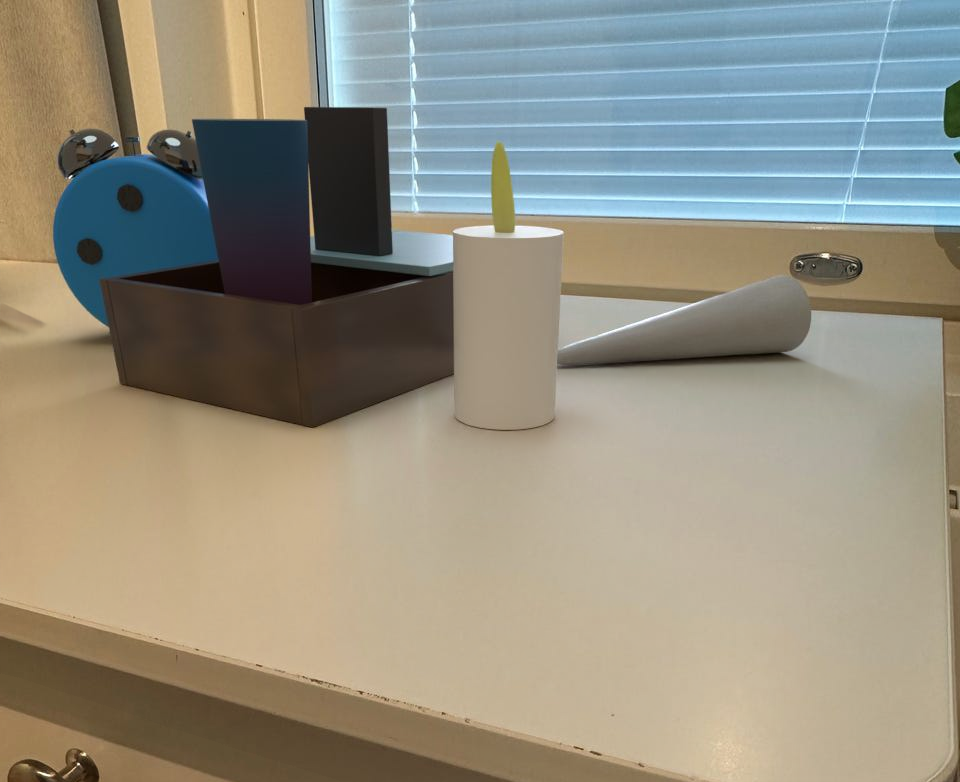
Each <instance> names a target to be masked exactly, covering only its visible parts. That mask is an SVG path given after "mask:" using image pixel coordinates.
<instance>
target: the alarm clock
mask: <svg viewBox="0 0 960 782" xmlns="http://www.w3.org/2000/svg"><path fill="white" fill-rule="evenodd" d="M68 132H69V134H70V135H69V136H68V137H67V138H66V139H64V140H63V142H62V143H61V145H60V147H59V149H58V152H57V158H56V159H57V167H58V171H59V173H60V174H61V176H62V178H63V179H64V181H68V180H71V181H70V182H69V183H68V184H67V186H66V187H65V189H64V190H63V192H62V193H61V195H60V198H59V200H58V203H57V205H56V208H55V212H54V216H53V224H52V239H53V241H52V242H53V248H54V254H55V259H56V262H57V265H58V268H59V270H60V273H61V275H62V277H63V279H64V282H65V283H66V285H67V287H68V288H69V290H70V292H71V293H72V294H73V296H74V298H76V300H77V301H78V303H80V305H81V306H82V307H83V308H84V309H85V311H86V312H88V313H89V314H90V315H91V316H92V317H94V318H95V319H96V320H97V321H98V322H100V323H101V324H103V325H104V326H105V327H108V328H109V326H108V321H107V316H106V311H105V306H104V301H103V296H102V291H101V286H100V281H99V279H101V278H107V277H114V276H120V275H126V274H133V273H139V272H145V271H152V270H158V269H164V268H171V267H177V266H184V265H190V264H196V263H203V262H209V261H215V260H218V255H217V250H216V244H215V239H214V234H213V229H212V223H211V218H210V213H209V208H208V202H207V197H206V192H205V187H204V181H203V176H202V171H201V166H200V160H199V155H198V150H197V145H196V139H195V137H193V136H192V132H191V131H190V130H187V132H186V133H185V132H184V131H181V130H178V129H170V128H169V129H162V130H158V131H157V132H155V133H153V134H152V135H151V136H150V138H149V139H148V142H147V144H146V149H147V151H148V152H149V153H151V154H148V153H142V154H137V153H136V148H135V143H140V142H141V139H140V136H124V140H125V142H126V143H132V148H133V154H130V155H129V154H128V155H124V156H117V157H112V156H113V155H115V154H116V153H117V152H118V151H119V150H120V149H121V145H120V144H119V142H118V141H117V139H116V138H115V137H114V136H113V135H111V134H110V133H109V132H107V131H105V130H102V129H99V128H91V127H90V128H84V129H80V130H78V131H75V130H74V129H71V130H69V131H68ZM111 157H112V158H111Z"/></svg>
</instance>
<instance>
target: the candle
mask: <svg viewBox="0 0 960 782" xmlns="http://www.w3.org/2000/svg"><path fill="white" fill-rule="evenodd" d="M491 160H492V161H491V175H490V177H491V178H490V197H491V199H490V200H491V215H492V216H491V217H492V222H493V225H492V224H491V225H475V226H465V227H459V228H455V229H454V230H453V231H452V235H453V309H454V374H453V413H454V417H455V419H456V420H458V421H459V422H460V423H462V424H464V425H468V426H470V427H471V426H472V427H475V428H481V429H487V430H497V431H498V430H499V431H514V430H525V429H533V428H537V427H542V426H544V425H546V424H549V423H551V422H552V421H553V420H554V419H555V412H556V395H557V394H556V393H557V377H558V364H557V357H558V350H559V338H560V337H559V335H560V317H561V315H560V314H561V296H562V278H563V275H562V274H563V260H564V259H563V257H564V241H565V239H564V238H565V232H564V231H563V230H561V229H557V228H551V227H545V226H535V225H516V212H515V211H516V210H515V200H514V189H513V184H512V183H513V182H512V175H511V170H510V165H509V160H508V155H507V153H506V149H505V147H504V144H503V143H502V141H500V140H498V141H497V142H496V144H495V146H494V149H493V153H492V159H491Z"/></svg>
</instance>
